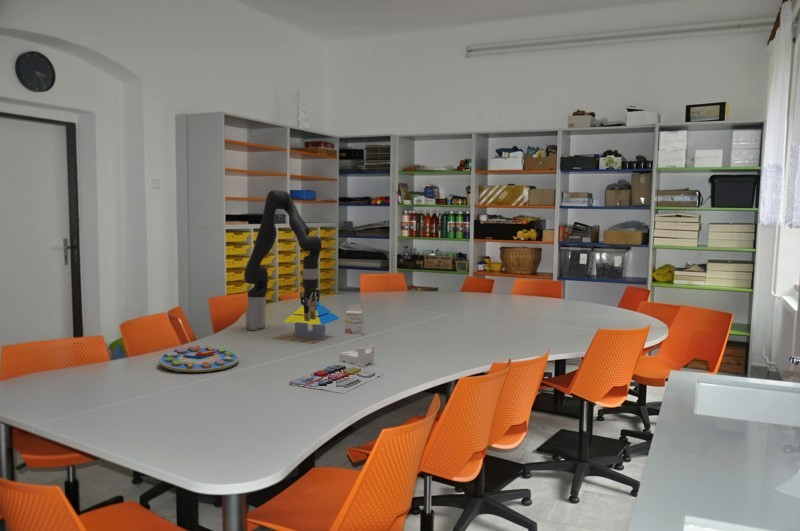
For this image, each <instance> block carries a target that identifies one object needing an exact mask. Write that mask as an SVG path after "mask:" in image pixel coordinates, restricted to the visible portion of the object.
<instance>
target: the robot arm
mask: <svg viewBox="0 0 800 531" xmlns="http://www.w3.org/2000/svg"><path fill="white" fill-rule="evenodd" d="M277 210H283V211H284V212H285V213H287V215H288V223H289V227H290V229H291V230H292V232H293V233H294V235H295V236H296V239H297V242H298V245H299V247H300V249H301V250H302V251H304V252H309V253H308V255H306V256H304V257H303V258H302V288H303V289H304V290H303V292H300V294H299V295H300V305H301V306H304V313H306V314H307V313H309V306H308V305H309V302H310V301H316V304H317V302H320V296H321V294H320V293H321V290H320V289H318V288H319V258H320V254H321V250H322V239H321V238H320V237H319V236H317V235H310V236H309V234H310V233H311V232H310V228H309V227H308V225H307V224H306V222H305V221H304V220H303V218H302V217H301V215H300V214H299V211H298V209H297V207H296V204H295V203H294V200H293V198H292V196H291V195H290V193H289V192H288V191H286V190H279V189H278V190H277V189H276V190H275V189H271V190H270V191H269V192H268V194H267V195H266V198H265V204H264V208H263V212H262V213H263V214H262V219H261V222H260V226H259V228H258V230H257V231H258V232H257V235H256V237H255V238H256V239H255V243H254V245H253V249H252V252H251V254H250V257H249V260H248V262H247V264H246V267H245V269H244V274H243V279H244V282H245V283H247V284H249V285H253V287H252V288H251V289H249V290H248V291H247V310H246V311H245V329H246V330H248V329H249V330H248V331H253V330H258V331H262V330H266V329H267V328H266V326H267V325H266V324H267V323H266V322H267V320H266V319H267V316H266V315H267V314H266V313H267V312H266V310H267V303H266V302H267V301H266V300H267V299H266V298H267V297H266V296H267V291H268V281H269V278H268V277H269V274H268V273H269V272H268V269H267V268H266V266H264V265H261V263H262V262H263V260H264V259H265V257H266V256H267V255H268V254H270V252H271V250H272V249H273V247H274V245H275V242H276V239H277V233H278V232H277V228H276V225H275V224H276V223H275V220H274V219H275V214H276V211H277Z"/></svg>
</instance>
